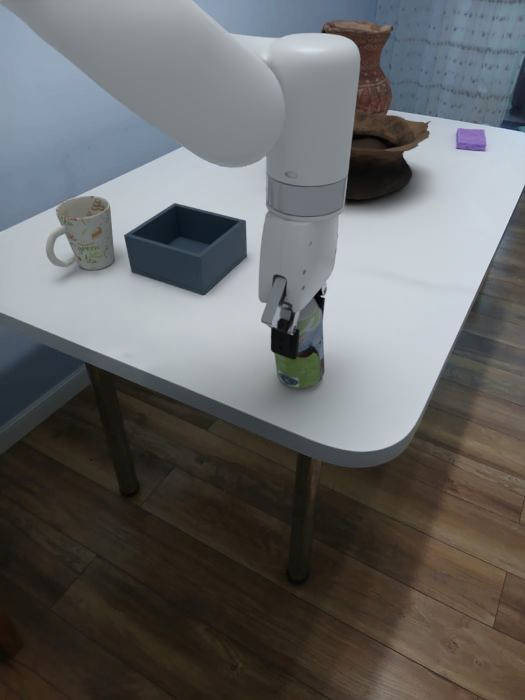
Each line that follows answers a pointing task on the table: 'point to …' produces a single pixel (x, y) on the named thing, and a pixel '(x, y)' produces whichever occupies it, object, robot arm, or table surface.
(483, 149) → the sponge
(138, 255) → the bin
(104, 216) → the mug
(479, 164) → the table surface
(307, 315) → the beverage can
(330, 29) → the jug
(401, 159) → the bowl
